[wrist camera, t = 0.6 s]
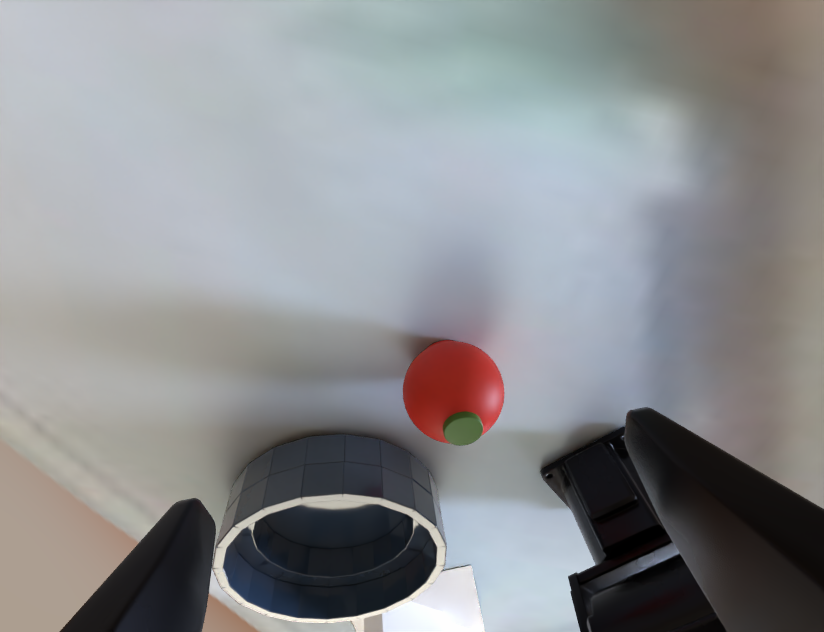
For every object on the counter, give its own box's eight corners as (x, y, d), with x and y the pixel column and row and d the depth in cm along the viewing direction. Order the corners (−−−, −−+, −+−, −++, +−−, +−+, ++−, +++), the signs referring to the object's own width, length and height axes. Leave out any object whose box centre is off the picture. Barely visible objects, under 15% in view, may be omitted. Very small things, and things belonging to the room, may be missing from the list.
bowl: (471, 500, 31) (487, 565, 27) (327, 575, 34) (324, 642, 31) (349, 392, 25) (347, 457, 21) (186, 497, 28) (160, 569, 24)
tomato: (506, 364, 25) (537, 434, 20) (432, 408, 26) (447, 483, 22) (458, 304, 22) (482, 370, 18) (380, 356, 24) (385, 428, 19)
